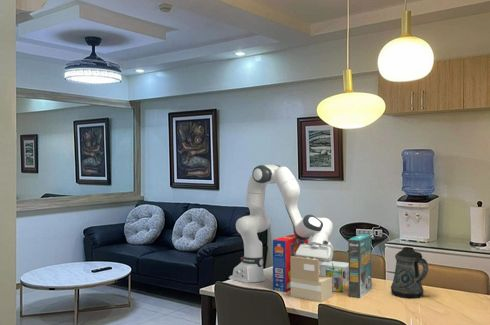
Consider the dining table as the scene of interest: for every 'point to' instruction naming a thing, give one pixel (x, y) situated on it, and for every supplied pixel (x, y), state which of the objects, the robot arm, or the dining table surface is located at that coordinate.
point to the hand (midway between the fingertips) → (309, 266)
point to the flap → (305, 268)
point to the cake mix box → (359, 265)
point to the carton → (312, 288)
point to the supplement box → (336, 265)
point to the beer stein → (408, 274)
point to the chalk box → (335, 278)
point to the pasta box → (284, 261)
